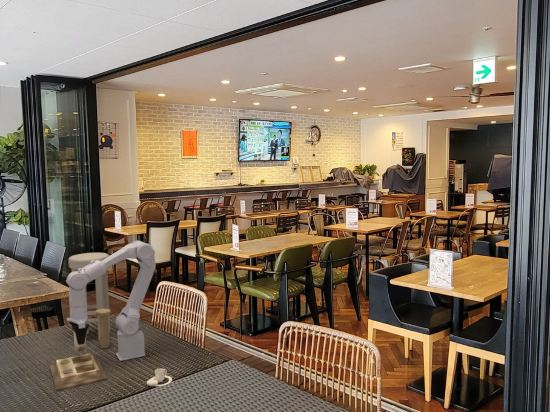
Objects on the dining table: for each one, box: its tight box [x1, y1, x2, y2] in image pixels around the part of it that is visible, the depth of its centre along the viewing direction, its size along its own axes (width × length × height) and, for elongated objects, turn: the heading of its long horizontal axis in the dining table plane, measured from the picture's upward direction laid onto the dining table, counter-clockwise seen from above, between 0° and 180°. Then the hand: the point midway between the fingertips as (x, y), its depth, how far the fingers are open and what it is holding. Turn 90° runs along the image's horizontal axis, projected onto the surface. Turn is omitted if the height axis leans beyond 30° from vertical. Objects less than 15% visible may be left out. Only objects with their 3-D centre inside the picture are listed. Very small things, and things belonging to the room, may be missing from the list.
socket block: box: [49, 352, 108, 392], centre depth 171 cm, size 16×22×3 cm
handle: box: [95, 308, 112, 349], centre depth 194 cm, size 5×6×15 cm
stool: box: [68, 252, 111, 342], centre depth 205 cm, size 16×16×35 cm
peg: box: [72, 330, 87, 352], centre depth 175 cm, size 4×4×7 cm
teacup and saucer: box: [146, 368, 173, 387], centre depth 164 cm, size 9×8×4 cm
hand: (80, 341), depth 175 cm, fingers closed on peg, 4 cm apart
